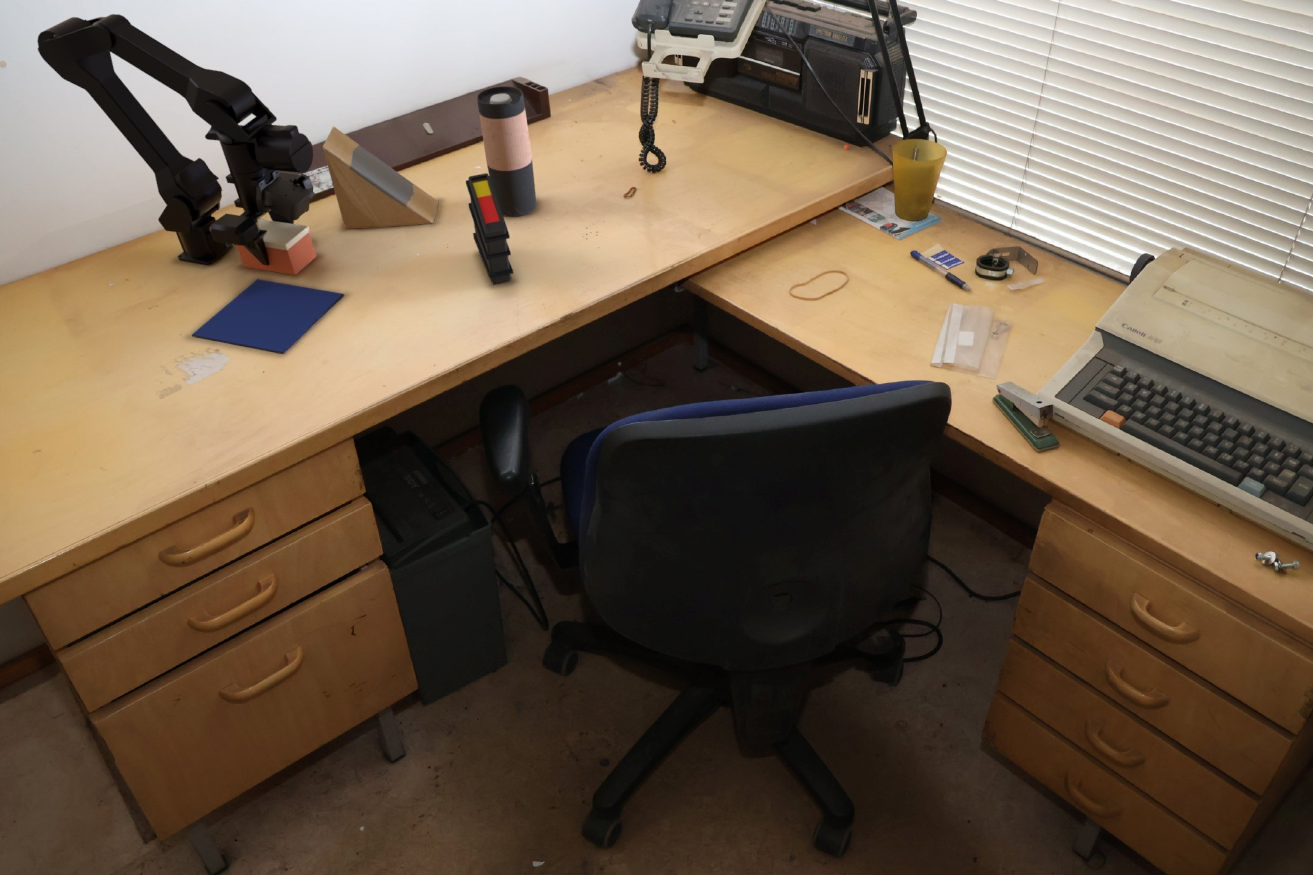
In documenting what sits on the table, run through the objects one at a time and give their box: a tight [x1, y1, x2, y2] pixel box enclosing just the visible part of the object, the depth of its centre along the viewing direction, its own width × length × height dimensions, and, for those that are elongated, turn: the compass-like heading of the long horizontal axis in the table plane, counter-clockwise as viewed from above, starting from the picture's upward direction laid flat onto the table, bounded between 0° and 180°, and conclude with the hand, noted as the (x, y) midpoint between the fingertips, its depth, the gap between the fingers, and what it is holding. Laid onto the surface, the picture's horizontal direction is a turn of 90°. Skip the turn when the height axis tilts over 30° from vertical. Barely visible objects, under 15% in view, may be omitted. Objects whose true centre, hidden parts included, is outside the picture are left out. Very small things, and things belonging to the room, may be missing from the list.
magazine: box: [465, 172, 514, 285], centre depth 156 cm, size 4×13×15 cm
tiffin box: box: [235, 218, 317, 276], centre depth 163 cm, size 10×6×6 cm, turn 71°
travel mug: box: [476, 85, 537, 218], centre depth 169 cm, size 8×8×20 cm
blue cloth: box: [191, 278, 345, 355], centre depth 152 cm, size 16×16×1 cm
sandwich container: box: [322, 125, 439, 230], centre depth 170 cm, size 9×15×15 cm, turn 93°
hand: (277, 255), depth 164 cm, fingers closed on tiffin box, 6 cm apart
